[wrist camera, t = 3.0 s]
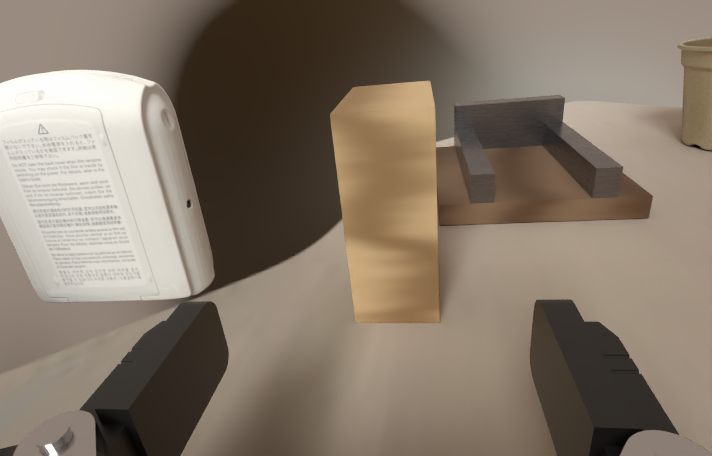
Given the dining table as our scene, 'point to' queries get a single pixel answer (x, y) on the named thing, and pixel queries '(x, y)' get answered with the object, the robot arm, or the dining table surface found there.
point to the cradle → (528, 168)
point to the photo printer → (99, 189)
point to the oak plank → (389, 200)
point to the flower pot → (697, 92)
